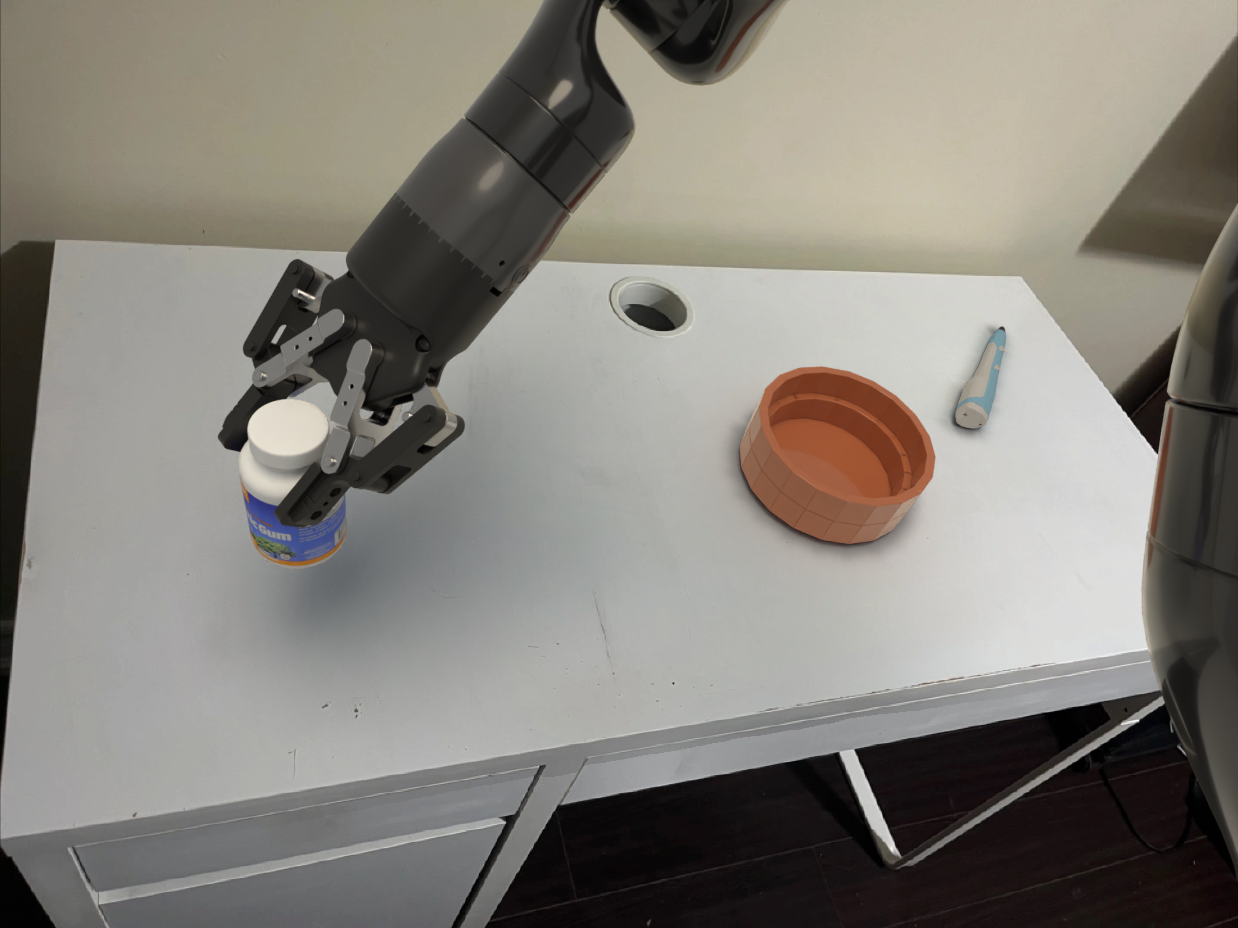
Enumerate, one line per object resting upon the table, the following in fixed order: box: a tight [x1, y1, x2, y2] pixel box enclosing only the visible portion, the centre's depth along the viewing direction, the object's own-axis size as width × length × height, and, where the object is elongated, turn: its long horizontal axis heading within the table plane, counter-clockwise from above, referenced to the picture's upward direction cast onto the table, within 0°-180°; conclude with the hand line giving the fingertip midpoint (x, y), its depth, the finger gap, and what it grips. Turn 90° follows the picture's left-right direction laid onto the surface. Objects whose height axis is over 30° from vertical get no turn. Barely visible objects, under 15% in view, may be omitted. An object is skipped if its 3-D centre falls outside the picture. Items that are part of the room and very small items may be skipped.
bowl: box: [739, 365, 936, 545], centre depth 75 cm, size 16×16×6 cm
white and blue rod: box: [955, 325, 1007, 430], centre depth 91 cm, size 19×3×3 cm, turn 152°
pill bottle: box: [237, 398, 348, 570], centre depth 48 cm, size 5×5×10 cm
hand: (261, 483), depth 46 cm, fingers closed on pill bottle, 5 cm apart
